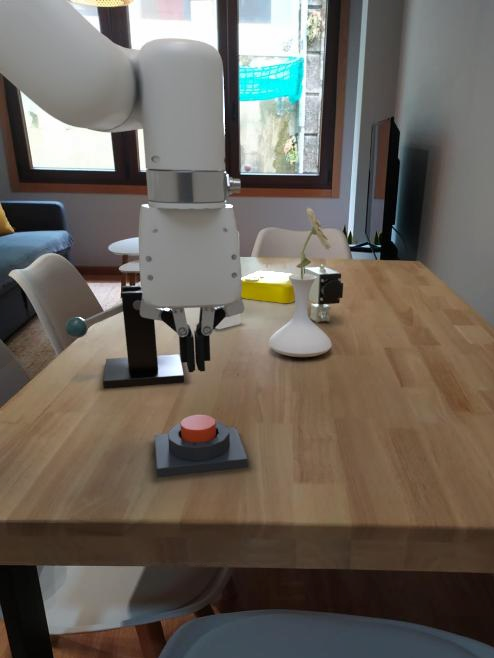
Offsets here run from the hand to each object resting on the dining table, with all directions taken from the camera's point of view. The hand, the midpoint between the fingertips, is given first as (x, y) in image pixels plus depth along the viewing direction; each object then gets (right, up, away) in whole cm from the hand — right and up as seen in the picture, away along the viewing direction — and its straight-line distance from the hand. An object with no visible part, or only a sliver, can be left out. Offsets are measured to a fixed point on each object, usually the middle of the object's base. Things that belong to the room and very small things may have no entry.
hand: (195, 367), depth 60 cm
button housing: (0, -10, +4) cm, 11 cm away
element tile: (+6, +21, +80) cm, 83 cm away
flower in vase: (+13, +4, +40) cm, 42 cm away
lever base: (-13, 0, +28) cm, 31 cm away
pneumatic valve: (+18, +12, +59) cm, 63 cm away
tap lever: (-17, +7, +24) cm, 30 cm away
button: (0, -8, +3) cm, 9 cm away
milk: (-4, +11, +55) cm, 56 cm away
